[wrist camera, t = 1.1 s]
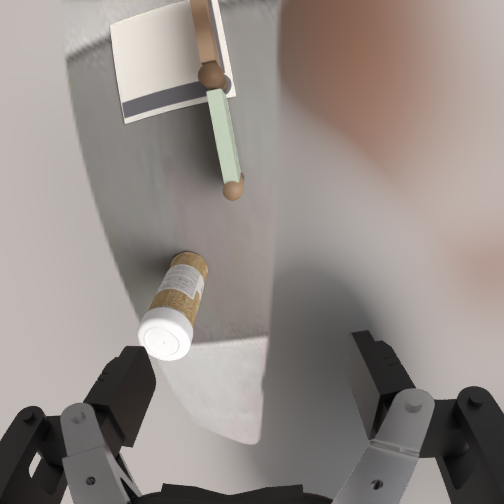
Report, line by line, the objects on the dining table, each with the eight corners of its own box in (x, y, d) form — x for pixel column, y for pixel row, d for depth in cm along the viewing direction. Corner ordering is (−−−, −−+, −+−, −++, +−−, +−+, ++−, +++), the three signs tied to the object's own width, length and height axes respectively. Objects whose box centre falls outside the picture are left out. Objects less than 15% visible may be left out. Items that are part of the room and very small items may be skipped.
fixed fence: (192, 0, 23) (179, -26, 16) (211, -4, 22) (203, -31, 16) (210, 96, 27) (199, 88, 21) (230, 92, 27) (225, 83, 21)
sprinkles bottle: (198, 290, 36) (177, 370, 24) (164, 273, 35) (129, 347, 23) (215, 261, 35) (199, 336, 23) (180, 243, 34) (145, 310, 22)
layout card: (110, 25, 23) (109, 25, 23) (216, -6, 23) (215, -7, 22) (126, 123, 28) (124, 123, 28) (236, 96, 28) (235, 96, 27)
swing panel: (212, 98, 27) (203, 91, 21) (228, 95, 27) (223, 87, 21) (229, 187, 31) (224, 202, 25) (245, 184, 31) (243, 198, 25)
